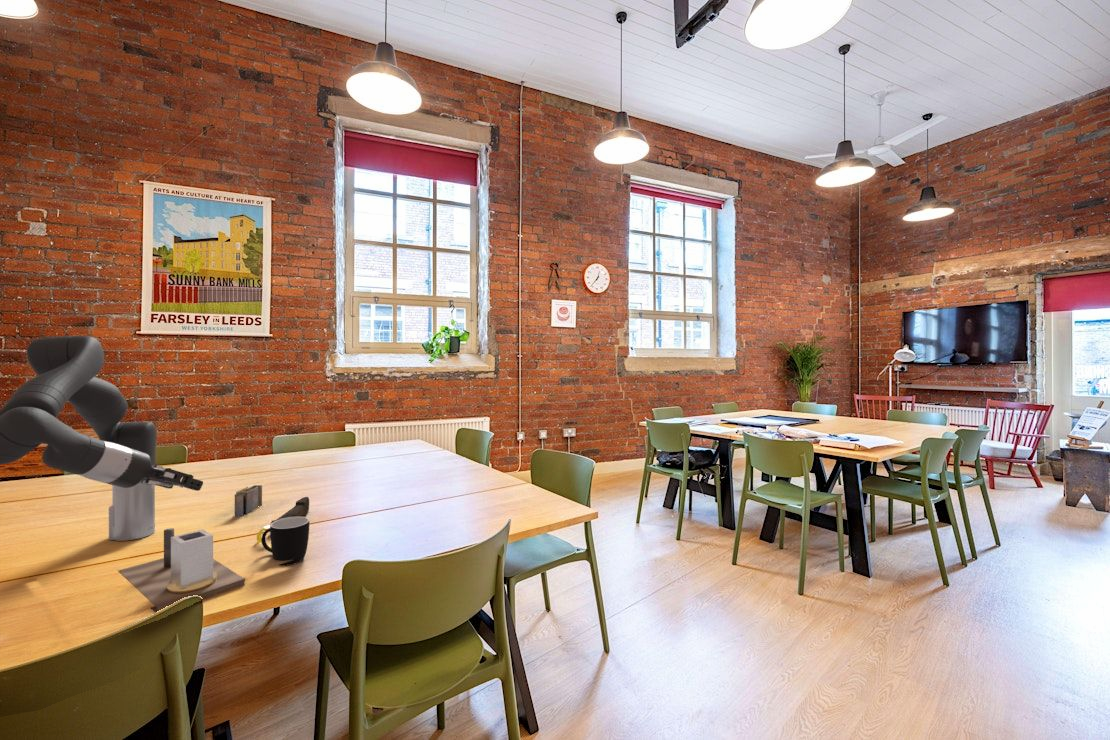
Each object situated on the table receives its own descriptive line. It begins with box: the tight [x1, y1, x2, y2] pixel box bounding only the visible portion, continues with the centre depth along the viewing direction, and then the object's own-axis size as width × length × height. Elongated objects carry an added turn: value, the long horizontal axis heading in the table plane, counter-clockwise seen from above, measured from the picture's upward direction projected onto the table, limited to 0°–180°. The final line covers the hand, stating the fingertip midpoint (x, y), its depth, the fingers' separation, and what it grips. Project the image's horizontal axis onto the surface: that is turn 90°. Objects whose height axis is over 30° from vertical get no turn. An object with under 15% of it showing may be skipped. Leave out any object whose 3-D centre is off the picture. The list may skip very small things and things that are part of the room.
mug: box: [261, 516, 310, 566], centre depth 123 cm, size 12×9×10 cm
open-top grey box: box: [171, 529, 214, 589], centre depth 106 cm, size 6×6×10 cm
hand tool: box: [269, 496, 310, 525], centre depth 151 cm, size 23×5×6 cm, turn 4°
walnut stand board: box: [117, 527, 246, 613], centre depth 111 cm, size 28×16×10 cm, turn 55°
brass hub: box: [167, 571, 217, 594], centre depth 107 cm, size 9×9×7 cm
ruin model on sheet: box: [234, 484, 263, 517], centre depth 161 cm, size 11×3×10 cm, turn 3°
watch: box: [256, 524, 271, 548], centre depth 131 cm, size 6×3×6 cm, turn 85°
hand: (186, 485), depth 108 cm, fingers open, 8 cm apart
